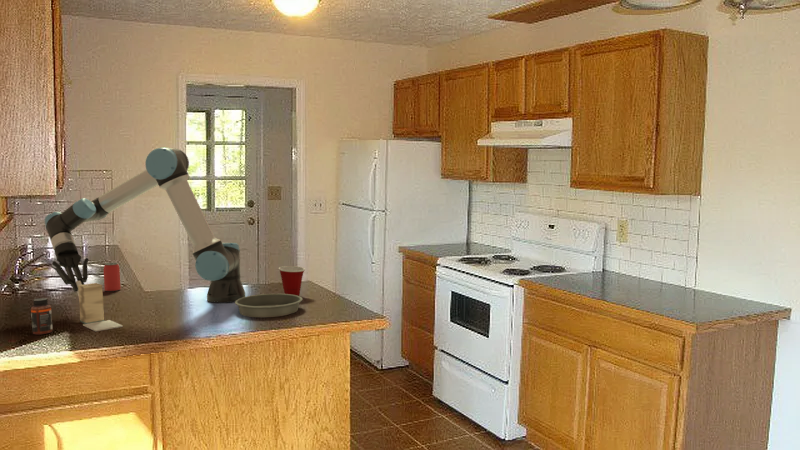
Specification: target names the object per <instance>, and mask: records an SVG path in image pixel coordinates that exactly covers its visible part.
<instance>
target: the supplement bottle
mask: <svg viewBox="0 0 800 450" xmlns="http://www.w3.org/2000/svg"><path fill="white" fill-rule="evenodd" d="M30 316H31V327H32V328H31V330H32V335H36V336H37V335H38V336H39V335H47V334H50V333H52V332H53V330H54V329H53V327H54V326H53V317H52V316H53V315H52V305H50V304H49V303H48V298H47V297H41V298H34V299H33V305H32V306H31V308H30Z"/></svg>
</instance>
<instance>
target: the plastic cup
mask: <svg viewBox="0 0 800 450" xmlns="http://www.w3.org/2000/svg"><path fill="white" fill-rule="evenodd" d="M278 270H279V274H280V278H281V283H282V289H283V294H291V295H297V296H300V295H301V294H300V293H301V288H302V283H303V281H302V280H303V276H304V273H305V271H306V268H305V267H302V266H295V265H291V266H289V265H287V266H286V265H283V266H279V267H278Z"/></svg>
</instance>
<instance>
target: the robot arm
mask: <svg viewBox="0 0 800 450" xmlns="http://www.w3.org/2000/svg"><path fill="white" fill-rule="evenodd" d="M144 164H145V165H144V166H145V170H143V171H142V172H140V173H138V174H136V175H134V176H133V177H131V178H129V179H127V180H126V181H124V182H122V183H121V184H119V185H117V186H115V187H114V188H112V189H110V190H109V191H107V192H105V193H103V194H101V195H100V196H98V197H96V198H94V199H93V200H90V199H88V198H85V197H82V198H80V199H78V200H76V201H74V203H73V204H71V205H70V206H68V208H67V209H65V210H64V211H62V212H60V211H53V212H52V213H48V214H47V215H46V216H45V217H44V225H45V230H46V232H47V234H48V236H49V239H50V243H51V245H52V249H53V251H54V254H55V257H56V260H55V261H54V260H53V261H52V263H51V268H52V269H53V270H54V271H55V272H56V273H57V275H59V276H58V277H60V279H61V280H62V282H63V283H64V285H66V286H68V285H70V287H72V290H73V292H76V294H77V297H78V298H79V289H78V285H84V284H85V283H87V281H88V278H89V277H88V276H89V275H88V274H89V273H88V263H89V261H90V259H89V257H88V258H87V257H86V258H83V257H82V256H81V255H80V254H79V250H78V248H77V245H76V243H75V240H74V238H73V237H74V236H73V234H72V231H73V230H75V229H76V228H78V227H79V226H81V225H82V224H83V223H87V222H88V223H89V222H92V221H100V220H102V219H104V218H106V217H107V216H108V215H109V214H110V213H112V212H113V211H115V210H117V209H118V208H121V207H122V206H124V205H126V204H128V203H129V202H131V201H133V200H135V199H137V198H138V197H140V196H142V195H143V194H145V193H147V192H149V191H151V190H152V189H154V188H156V187H159V189H162V190H165V191H166V194H167V196H168V198H169V199H170V202H171V203H172V206H173V207H174V210H175V212H176V214H177V216H178V218H179V220H180V222H181V225H182V227H183V228H184V230H185V232H186V235H187V236H188V238H189V241H190V242H191V244H192V246H193V249H192V256H193V257H194V260H195V264H194V266H195V271H196V273H197V274H198V275H199V277H200V278H201V279H203V280H206V281H209V283H210V284H209V287H208V291H207V293H206V300H207V302H210V303H215V304H216V303H220V304H221V303H233V302H234V303H235V301H236V300H238V299H240V298H243V297H247V296H246V291H245V288H244V285H243V283H242V279H241V257H240V256H241V253H240V252H241V250H240V245H239V244H238V243H237V242H222V240H221V238H220V239H219V238H217V237H216V236H215V234H214V232H213V231H212V229H211V227H210V224H209V223H208V221H207V219H206V216H205V214H204V212H203V211H202V208H201V207H200V204H199V202H198V200H197V199H196V196H195V194H194V192H193V189H192V188H191V186H190V184H189V181H188V179H189V177H190V174H189V172H188V170H189V168H190V167H189V166H190V159H189V157H188V156H187V154H186V153H185V152H184V151H183V150H181V149H179V148H175V147H174V148H173V147H165V146H163V147H158V148H155V149H152V150H151V151H150V152H149V153H148V154H147V156H146V159H145V163H144ZM80 262H81V265H82V269H81V270H82V272H81V270H80V267H79V264H80ZM63 268H64V269H63Z"/></svg>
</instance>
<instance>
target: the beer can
mask: <svg viewBox="0 0 800 450" xmlns="http://www.w3.org/2000/svg"><path fill="white" fill-rule="evenodd" d="M120 269H121V267H120V265H119V263H118V262H106V263H104V266H103V282H104V283H103V284H104V285H103V286H104V291H105V292H109V293H110V292H119V291H120V290H121V289H122V287H121V270H120Z"/></svg>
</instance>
